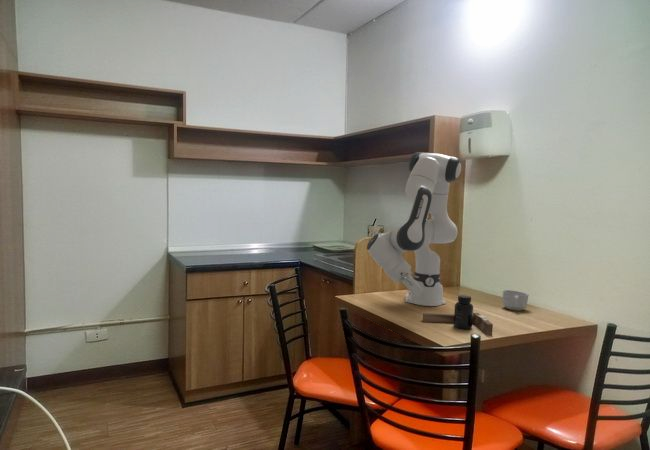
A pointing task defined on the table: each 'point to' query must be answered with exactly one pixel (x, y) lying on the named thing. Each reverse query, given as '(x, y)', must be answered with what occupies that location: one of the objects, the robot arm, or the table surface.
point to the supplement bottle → (463, 313)
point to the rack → (449, 318)
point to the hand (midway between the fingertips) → (423, 297)
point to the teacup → (514, 300)
